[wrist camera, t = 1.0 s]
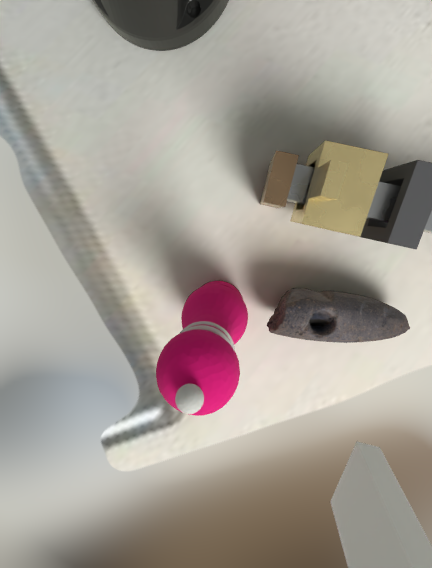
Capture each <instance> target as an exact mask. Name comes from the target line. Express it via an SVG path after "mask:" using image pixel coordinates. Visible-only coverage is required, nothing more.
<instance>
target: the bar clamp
mask: <svg viewBox="0 0 432 568" xmlns="http://www.w3.org/2000/svg"><path fill="white" fill-rule="evenodd" d="M298 157H299V155H295V154H290V153H286V152H281V151H276V152H275V154H274V156H273V158H272V160H271V162H270V165H269V169H268V174H267V178H266V182H265V186H264V190H263V194H262V198H261V202H260V204H262V205H266V206H271V207H275V208H281V207H285V205H286V202H287V201H288V202H293V203H297V204H302V205H304V204H305V201H306V197H307V194H308V190H309V187H310V183H311V180H312V176H313V173H314V169H315V168H313V167H309V166H304V165H300V164H297V161H298ZM400 188H401V186H397V185H392V184H388V183H383V182H379V183H378V186H377V189H376V192H375V195H374V198H373V201H372V204H371V207H370V210H369V213H368V216H367V218H366V219H370V220H374V221H379V222H383V223H388V222H389V219H390V216H391V213H392V210H393V208H394V205H395V202H396V199H397V197H398V194H399V191H400ZM424 232H428V233H432V211H431V214H430V216H429V219H428V221H427V224H426V226H425V229H424Z"/></svg>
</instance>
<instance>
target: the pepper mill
mask: <svg viewBox="0 0 432 568" xmlns="http://www.w3.org/2000/svg"><path fill="white" fill-rule="evenodd" d="M247 320H248V313H247V308H246V305H245V303H244V301H243V299H242V296H241V294H240V292H239V291H238V290H237V289H236V288H235V287H234V286H233V285H231V284H229V283H227V282H224V281H212V282H209V283H206V284H204V285H203V286H202V287H200V288H198V289H197V290H195V291H194V292H193V293H192V294H191V295H190V296H189V297H188V299H187V300H186V302H185V305H184V307H183V311H182V327H183V330H182V331H181V332H180V334H178V335H177V336H175V337H174V338H172V339H171V340H170V341H169V342H168V344H167V345H166V346H165V347H164V349H163V350H162V352H161V354H160V356H159V359H158V362H157V368H156V378H157V384H158V387H159V390H160V392H161V394H162V395H163V397H164V398H165V400H166V401H167V402H168V403H169V404H170V405H171V406H173V407H174V408H175V409H177V410H179V411H180V412H183V413H185V414H189V415H206V414H210V413H213V412H215V411H217V410H219V409H220V408H222V407H223V406H224V405H225V404H226V403H227V402H228V401H229V400H230V399H231V397H232V396H233V394H234V392H235V390H236V388H237V386H238V381H239V375H240V370H239V361H238V358H237V355H236V353H235V348H234V344H236V343H237V342H238V340H239V339H240V338H241V337H242V335H243V334H244V332H245V329H246V326H247Z"/></svg>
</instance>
